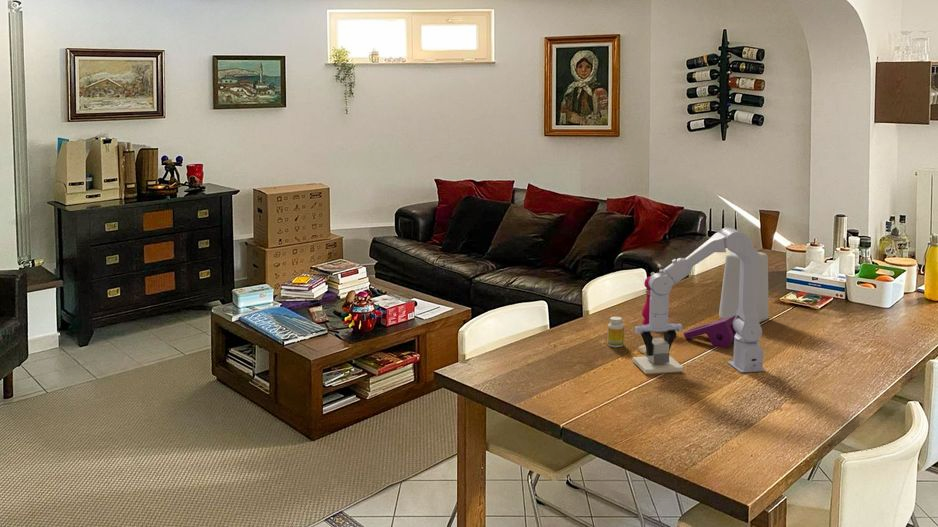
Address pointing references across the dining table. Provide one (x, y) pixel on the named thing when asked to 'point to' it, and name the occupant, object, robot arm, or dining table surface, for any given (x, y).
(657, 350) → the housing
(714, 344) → the mounting bracket
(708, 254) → the robot arm
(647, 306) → the pepper mill
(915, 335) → the dining table surface
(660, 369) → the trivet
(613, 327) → the supplement bottle
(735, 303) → the plastic bottle
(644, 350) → the metal coaster
